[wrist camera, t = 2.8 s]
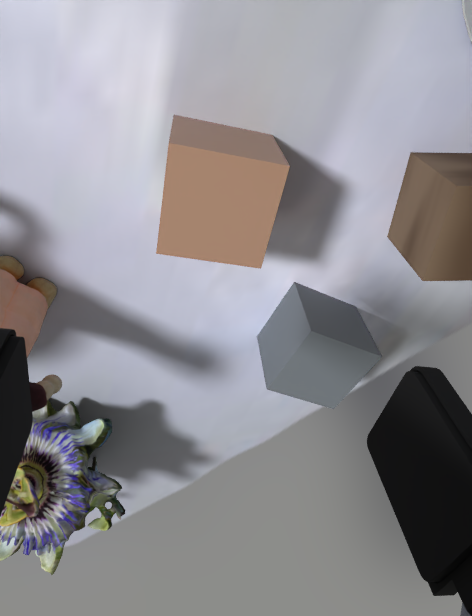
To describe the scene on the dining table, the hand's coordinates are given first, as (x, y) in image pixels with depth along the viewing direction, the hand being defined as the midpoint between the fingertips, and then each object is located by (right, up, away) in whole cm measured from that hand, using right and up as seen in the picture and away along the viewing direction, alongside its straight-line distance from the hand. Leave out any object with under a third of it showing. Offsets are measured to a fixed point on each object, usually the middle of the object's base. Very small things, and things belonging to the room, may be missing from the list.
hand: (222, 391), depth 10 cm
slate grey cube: (+5, +1, +19) cm, 19 cm away
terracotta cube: (-1, +9, +12) cm, 15 cm away
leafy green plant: (-13, -8, +24) cm, 28 cm away
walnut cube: (+12, +9, +14) cm, 20 cm away
